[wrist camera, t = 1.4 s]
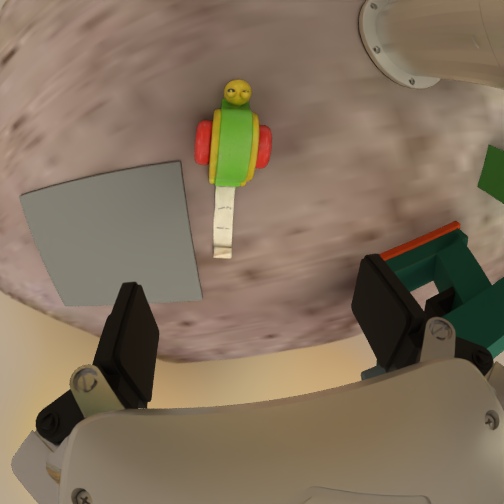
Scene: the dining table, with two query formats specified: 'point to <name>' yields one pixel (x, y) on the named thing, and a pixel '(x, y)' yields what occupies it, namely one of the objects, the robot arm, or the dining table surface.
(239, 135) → the toy measuring tape
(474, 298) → the power tool
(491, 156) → the hardback book
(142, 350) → the robot arm
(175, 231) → the mat
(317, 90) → the dining table surface
